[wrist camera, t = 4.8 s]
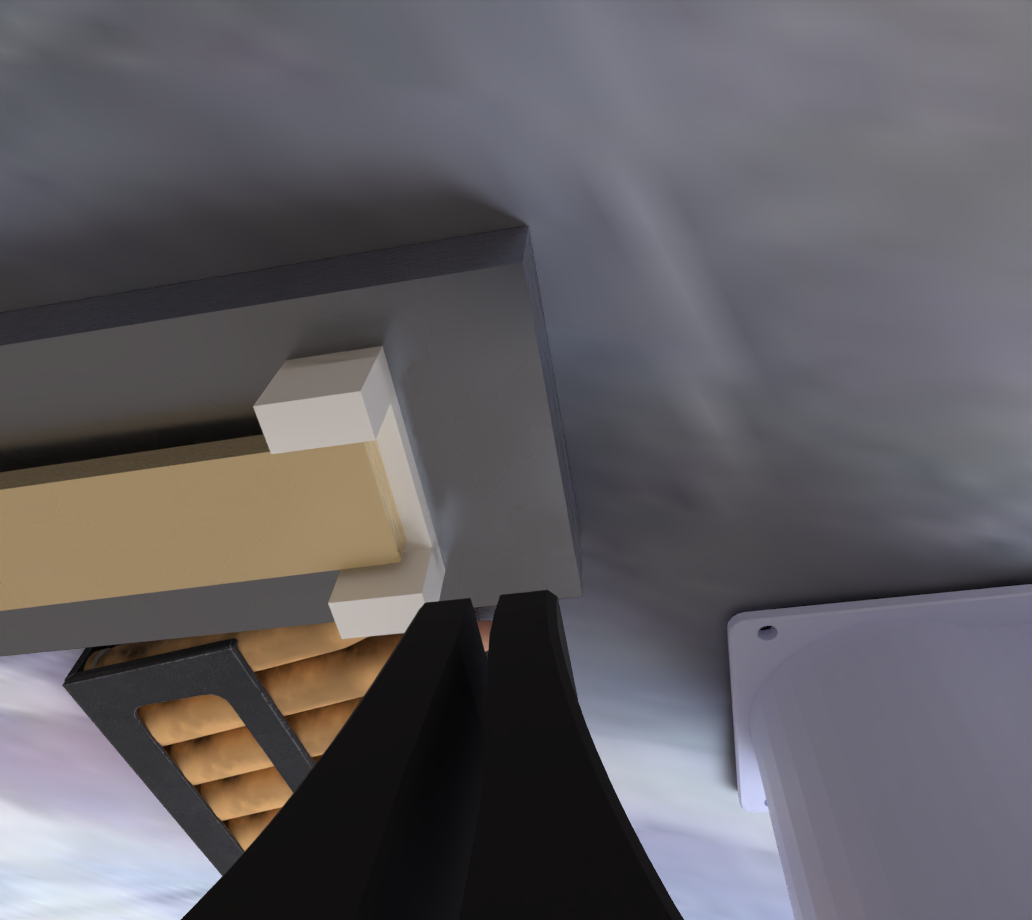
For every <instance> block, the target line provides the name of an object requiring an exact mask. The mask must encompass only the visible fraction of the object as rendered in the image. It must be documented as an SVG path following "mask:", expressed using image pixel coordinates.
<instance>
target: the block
mask: <svg viewBox="0 0 1032 920" xmlns="http://www.w3.org/2000/svg"><path fill="white" fill-rule="evenodd" d="M378 346H383V349H384V353H385V357H386V360H387V364H388V367H389V371H390V374H391V378H392V382H393V385H394V389H395V392H396V396H397V399H398V403H399V406H400V410H401V414H402V417H403V421H404V424H405V428H406V431H407V435H408V439H409V442H410V446H411V449H412V453H413V456H414V460H415V464H416V467H417V471H418V474H419V478H420V481H421V485H422V488H423V492H424V496H425V499H426V503H427V506H428V510H429V513H430V517H431V521H432V524H433V528H434V531H435V535H436V538H437V542H438V545H439V549H440V553H441V556H442V560H443V563H444V567H445V574H444V579H443V584H442V589H441V594H440V599H439V601H445V600H455V599H465V598H471V601H472V605H473V608H475V607H485V606H495V605H497V604H498V600H499V597H500V595H503V594H512V593H522V592H532V591H541V590H549V591H550V592H552V593H553V594H555V595H556V596H558V599H563V598H573V597H582V562H581V531H580V525H579V520H578V514H577V508H576V502H575V496H574V490H573V484H572V478H571V473H570V467H569V461H568V455H567V449H566V443H565V437H564V432H563V426H562V420H561V414H560V408H559V402H558V396H557V391H556V385H555V379H554V373H553V367H552V361H551V355H550V350H549V344H548V338H547V332H546V326H545V320H544V314H543V308H542V303H541V297H540V291H539V285H538V279H537V273H536V267H535V262H534V256H533V250H532V244H531V238H530V232H529V226H522V227H516V228H510V229H504V230H498V231H492V232H486V233H480V234H474V235H468V236H462V237H456V238H450V239H444V240H438V241H432V242H426V243H420V244H414V245H408V246H402V247H396V248H390V249H384V250H378V251H372V252H366V253H360V254H354V255H348V256H342V257H336V258H330V259H323V260H317V261H311V262H305V263H299V264H293V265H287V266H281V267H275V268H269V269H263V270H257V271H251V272H245V273H239V274H233V275H227V276H221V277H215V278H209V279H203V280H197V281H191V282H185V283H179V284H173V285H167V286H161V287H155V288H149V289H143V290H137V291H131V292H125V293H119V294H113V295H107V296H101V297H95V298H88V299H82V300H76V301H70V302H64V303H58V304H52V305H46V306H40V307H34V308H28V309H22V310H16V311H10V312H4V313H0V472H6V471H13V470H20V469H27V468H34V467H41V466H48V465H55V464H62V463H69V462H76V461H82V460H89V459H96V458H103V457H110V456H117V455H124V454H131V453H138V452H145V451H152V450H159V449H166V448H173V447H179V446H186V445H193V444H200V443H207V442H214V441H221V440H228V439H235V438H242V437H249V436H256V435H263V431H262V429H261V426H260V423H259V421H258V418H257V416H256V413H255V410H254V408H253V406H254V404H255V403H256V401H257V400H258V399H259V397H260V396H261V394H262V393H263V392H264V390H265V389H266V387H267V386H268V385H269V383H270V382H271V380H272V379H273V378H274V376H275V375H276V373H277V372H278V371H279V369H280V368H281V366H282V365H283V364H284V362H285V361H286V360H291V359H298V358H305V357H311V356H318V355H325V354H331V353H338V352H345V351H352V350H358V349H365V348H372V347H378ZM339 573H340V570H333V571H325V572H317V573H308V574H300V575H292V576H284V577H276V578H267V579H259V580H251V581H243V582H234V583H226V584H218V585H210V586H202V587H193V588H185V589H177V590H169V591H160V592H152V593H144V594H136V595H128V596H119V597H111V598H103V599H95V600H86V601H78V602H70V603H62V604H53V605H45V606H37V607H29V608H21V609H12V610H4V611H0V656H9V655H19V654H28V653H38V652H48V651H57V650H67V649H77V648H87V647H96V646H106V645H116V644H125V643H135V642H145V641H155V640H164V639H174V638H184V637H194V636H203V635H213V634H223V633H232V632H242V631H252V630H262V629H271V628H281V627H291V626H300V625H310V624H320V623H330V622H335V620H334V618H333V615H332V612H331V610H330V607H329V604H328V602H329V599H330V597H331V594H332V591H333V589H334V586H335V583H336V581H337V578H338V575H339Z"/></svg>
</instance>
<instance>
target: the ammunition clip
mask: <svg viewBox="0 0 1032 920" xmlns="http://www.w3.org/2000/svg"><path fill="white" fill-rule="evenodd" d="M492 622H493V621H477V623H478V627H479V631H480V635H481V638H482V642H483V646H484V650H485V652H486V651H487V650H489V634H490V630H491V626H492ZM403 634H404V633H399V634H389V635H379V636H369V637H359V638H348V639H342V638H341V636H340V633H339V631H338V628H337V625H336V623H335V622H330V623H320V624H310V625H300V626H291V627H281V628H271V629H262V630H252V631H242V632H232V633H223V634H213V635H203V636H194V637H184V638H174V639H164V640H155V641H145V642H135V643H125V644H116V645H106V646H96V647H87V648H85V650H84V651H83V653H82V654H81V656H80V657H79V659H78V661H77V662H76V664H75V665H74V667H73V668H72V670H71V671H70V673H69V674H68V676H67V677H66V679H65V682H64V684H63V685H62V686H63V687H64V688H65V689H66V690H67V692H68V693H69V694H70V695H71V696H72V698H73V699H74V700H75V701H76V702H77V704H78V705H79V706H80V707H81V708H82V709H83V711H84V712H85V713H86V714H87V715H88V717H89V718H90V719H91V720H92V721H93V723H94V724H95V725H96V726H97V727H98V729H99V730H100V731H101V732H102V733H103V734H104V736H105V737H106V738H107V739H108V740H109V742H110V743H111V744H112V745H113V746H114V748H115V749H116V750H117V751H118V752H119V754H120V755H121V756H122V757H123V758H124V759H125V761H126V762H127V763H128V764H129V765H130V767H131V768H132V769H133V770H134V771H135V773H136V774H137V775H138V776H139V777H140V779H141V780H142V781H143V782H144V783H145V784H146V786H147V787H148V788H149V789H150V790H151V792H152V793H153V794H154V795H155V796H156V798H157V799H158V800H159V801H160V802H161V804H162V805H163V806H164V807H165V808H166V809H167V811H168V812H169V813H170V814H171V815H172V817H173V818H174V819H175V820H176V821H177V823H178V824H179V825H180V826H181V827H182V829H183V830H184V831H185V832H186V833H187V834H188V836H189V837H190V838H191V839H192V840H193V842H194V843H195V844H196V845H197V846H198V848H199V849H200V850H201V851H202V852H203V854H204V855H205V856H206V857H207V858H208V859H209V861H210V862H211V863H212V864H213V865H214V867H215V868H216V869H217V870H218V871H219V873H220V874H221V875H222V876H223V875H224V874H225V873H226V872H227V871H228V870H229V869H230V867H231V866H232V865H233V864H234V863H235V862H236V861H237V860H238V858H239V857H240V856H241V855H242V854H243V853H244V852H245V850H246V849H247V848H248V847H249V846H250V845H251V844H252V843H253V841H254V840H255V839H256V838H257V837H258V836H259V834H260V833H261V832H262V831H263V830H264V828H265V827H266V826H267V825H268V824H269V823H270V821H271V820H272V819H273V818H274V816H275V815H276V814H277V813H278V812H279V810H280V809H281V808H282V807H283V805H284V804H285V803H286V802H287V800H288V799H289V798H290V797H291V795H292V794H293V793H294V792H295V790H296V789H297V788H298V786H299V785H300V784H301V782H302V781H303V780H304V778H305V777H306V776H307V774H308V773H309V772H310V770H311V769H312V768H313V766H314V765H315V764H316V762H317V761H318V760H319V759H320V757H321V756H322V755H323V753H324V752H325V751H326V749H327V748H328V747H329V745H330V744H331V743H332V741H333V740H334V738H335V737H336V736H337V734H338V733H339V731H340V730H341V729H342V727H343V726H344V724H345V723H346V721H347V720H348V718H349V717H350V715H351V714H352V712H353V711H354V710H355V708H356V707H357V705H358V704H359V702H360V701H361V699H362V698H363V696H364V695H365V693H366V692H367V691H368V689H369V688H370V686H371V685H372V683H373V682H374V680H375V678H376V677H377V675H378V674H379V672H380V671H381V669H382V668H383V666H384V665H385V663H386V661H387V660H388V658H389V657H390V655H391V654H392V652H393V650H394V649H395V647H396V646H397V644H398V642H399V641H400V639H401V638H402V636H403Z"/></svg>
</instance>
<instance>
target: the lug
mask: <svg viewBox="0 0 1032 920" xmlns="http://www.w3.org/2000/svg"><path fill="white" fill-rule="evenodd" d="M253 408H254V410H255V413H256V416H257V418H258V421H259V423H260V426H261V429H262V431H263V434H264V437H265V439H266V442H267V444H268V447H269V450H270V452H271V454H277V453H284V452H292V451H299V450H307V449H314V448H322V447H329V446H337V445H344V444H352V443H359V442H367V441H374V440H376V441H377V444H378V447H379V451H380V454H381V457H382V461H383V464H384V467H385V470H386V474H387V477H388V480H389V484H390V487H391V490H392V494H393V497H394V500H395V503H396V507H397V510H398V513H399V517H400V520H401V523H402V526H403V530H404V533H405V536H406V544H405V548H404V552H403V556H402V560H401V562H399V563H391V564H382V565H374V566H366V567H358V568H350V569H341V570H340V573H339V575H338V578H337V581H336V583H335V586H334V589H333V591H332V594H331V597H330V599H329V602H328V604H329V607H330V610H331V612H332V615H333V618H334V620H335V623H336V625H337V628H338V631H339V633H340V636H341V638H342V639H348V638H359V637H369V636H379V635H389V634H399V633H405V631H406V630H407V628H408V626H409V625H410V623H411V621H412V620H413V618H414V617H415V615H416V614H417V612H418V610H419V609H420V608H421V607H422V606H423V604H424V603H426V602H436V601H439V599H440V594H441V589H442V584H443V579H444V574H445V567H444V563H443V560H442V556H441V553H440V549H439V545H438V542H437V538H436V535H435V531H434V528H433V524H432V521H431V517H430V513H429V510H428V506H427V503H426V499H425V496H424V492H423V488H422V485H421V481H420V478H419V474H418V471H417V467H416V464H415V460H414V456H413V453H412V449H411V446H410V442H409V439H408V435H407V431H406V428H405V424H404V421H403V417H402V414H401V410H400V406H399V403H398V399H397V396H396V392H395V389H394V385H393V382H392V378H391V374H390V371H389V367H388V364H387V360H386V357H385V353H384V349H383V346H378V347H372V348H365V349H358V350H352V351H345V352H338V353H331V354H325V355H318V356H311V357H305V358H298V359H291V360H286V361H285V362H284V364H283V365H282V366H281V368H280V369H279V371H278V372H277V373H276V375H275V376H274V378H273V379H272V380H271V382H270V383H269V385H268V386H267V387H266V389H265V390H264V392H263V393H262V394H261V396H260V397H259V399H258V400H257V401H256V403H255V404H254V406H253Z"/></svg>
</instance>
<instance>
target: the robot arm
mask: <svg viewBox="0 0 1032 920" xmlns="http://www.w3.org/2000/svg"><path fill="white" fill-rule="evenodd" d="M764 626H773V627H772V628H770V629H768V630H759V629H761V628H762V627H764ZM727 634H728V649H729V665H730V680H731V696H732V711H733V726H734V742H735V757H736V773H737V788H738V797H739V802H740V805H741V807H742V808H743V809H744V810H746V811H749V812H755V813H759V812H769V813H770V818H771V822H772V826H773V830H774V834H775V838H776V843H777V847H778V851H779V855H780V859H781V864H782V868H783V872H784V876H785V880H786V884H787V889H788V893H789V897H790V901H791V905H792V909H793V914H794V918H795V920H1032V584H1026V585H1016V586H1006V587H996V588H986V589H975V590H965V591H955V592H945V593H934V594H924V595H914V596H904V597H893V598H883V599H873V600H863V601H852V602H842V603H832V604H822V605H811V606H801V607H791V608H781V609H770V610H760V611H750V612H743V613H739V614H737V615H735V616H733V617H732V618H731V619H730V621H729V622H728V626H727ZM181 920H684V919H683V917H682V916H681V914H680V912H679V911H678V909H677V908H676V906H675V904H674V903H673V901H672V899H671V897H670V896H669V894H668V892H667V890H666V888H665V887H664V885H663V883H662V881H661V879H660V878H659V876H658V874H657V872H656V870H655V869H654V867H653V865H652V863H651V861H650V860H649V858H648V856H647V854H646V852H645V850H644V848H643V846H642V844H641V843H640V841H639V839H638V837H637V835H636V833H635V831H634V829H633V827H632V825H631V823H630V821H629V819H628V817H627V815H626V813H625V811H624V809H623V807H622V805H621V803H620V801H619V799H618V797H617V795H616V792H615V790H614V788H613V786H612V784H611V782H610V780H609V777H608V775H607V773H606V770H605V768H604V766H603V764H602V761H601V759H600V757H599V754H598V752H597V750H596V748H595V745H594V743H593V740H592V738H591V735H590V733H589V730H588V728H587V725H586V722H585V720H584V717H583V714H582V711H581V708H580V706H579V703H578V698H577V692H576V687H575V682H574V677H573V672H572V667H571V662H570V657H569V652H568V647H567V642H566V637H565V632H564V627H563V622H562V617H561V611H560V606H559V601H558V596H556V595H555V594H553V593H552V592H550V591H549V590H541V591H532V592H522V593H512V594H503V595H500V597H499V600H498V604H497V607H496V610H495V613H494V617H493V622H492V626H491V630H490V634H489V652H488V661H487V657H486V653H485V650H484V646H483V642H482V638H481V635H480V631H479V627H478V623H477V620H476V616H475V612H474V608H473V605H472V601H471V598H465V599H455V600H445V601H436V602H426V603H424V604H423V606H422V607H421V608H420V609H419V610H418V612H417V614H416V615H415V617H414V618H413V620H412V621H411V623H410V625H409V626H408V628H407V630H406V631H405V633H404V634H403V636H402V638H401V639H400V641H399V642H398V644H397V646H396V647H395V649H394V650H393V652H392V654H391V655H390V657H389V658H388V660H387V661H386V663H385V665H384V666H383V668H382V669H381V671H380V672H379V674H378V675H377V677H376V678H375V680H374V682H373V683H372V685H371V686H370V688H369V689H368V691H367V692H366V693H365V695H364V696H363V698H362V699H361V701H360V702H359V704H358V705H357V707H356V708H355V710H354V711H353V712H352V714H351V715H350V717H349V718H348V720H347V721H346V723H345V724H344V726H343V727H342V729H341V730H340V731H339V733H338V734H337V736H336V737H335V738H334V740H333V741H332V743H331V744H330V745H329V747H328V748H327V749H326V751H325V752H324V753H323V755H322V756H321V757H320V759H319V760H318V761H317V762H316V764H315V765H314V766H313V768H312V769H311V770H310V772H309V773H308V774H307V776H306V777H305V778H304V780H303V781H302V782H301V784H300V785H299V786H298V788H297V789H296V790H295V792H294V793H293V794H292V795H291V797H290V798H289V799H288V800H287V802H286V803H285V804H284V805H283V807H282V808H281V809H280V810H279V812H278V813H277V814H276V815H275V816H274V818H273V819H272V820H271V821H270V823H269V824H268V825H267V826H266V827H265V828H264V830H263V831H262V832H261V833H260V834H259V836H258V837H257V838H256V839H255V840H254V841H253V843H252V844H251V845H250V846H249V847H248V848H247V849H246V850H245V852H244V853H243V854H242V855H241V856H240V857H239V858H238V860H237V861H236V862H235V863H234V864H233V865H232V866H231V867H230V869H229V870H228V871H227V872H226V873H225V874H224V875H223V876H222V877H221V878H220V880H219V881H218V882H217V883H216V884H215V885H214V886H213V887H212V888H211V889H210V890H209V891H208V892H207V893H206V894H205V895H204V896H203V897H202V898H201V899H200V900H199V901H198V903H197V904H196V905H195V906H194V907H193V908H192V909H191V910H190V911H189V912H188V913H187V914H186V915H185V916H184V917H183V918H182V919H181Z"/></svg>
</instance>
